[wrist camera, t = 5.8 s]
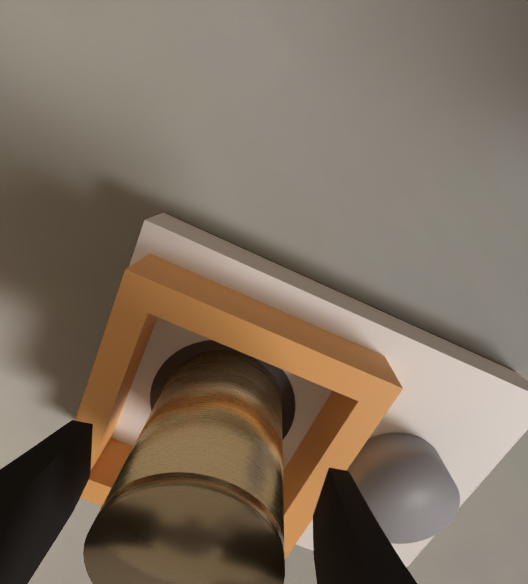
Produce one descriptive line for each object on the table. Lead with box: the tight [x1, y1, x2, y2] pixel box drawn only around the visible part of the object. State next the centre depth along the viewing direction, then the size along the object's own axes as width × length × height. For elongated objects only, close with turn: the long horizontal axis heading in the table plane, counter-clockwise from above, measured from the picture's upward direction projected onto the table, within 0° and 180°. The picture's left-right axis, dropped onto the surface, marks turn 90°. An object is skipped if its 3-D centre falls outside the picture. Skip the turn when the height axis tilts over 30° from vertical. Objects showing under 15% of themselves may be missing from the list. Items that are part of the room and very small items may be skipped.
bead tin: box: [83, 350, 285, 584], centre depth 11 cm, size 4×4×6 cm
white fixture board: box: [75, 213, 528, 568], centre depth 14 cm, size 16×11×4 cm
